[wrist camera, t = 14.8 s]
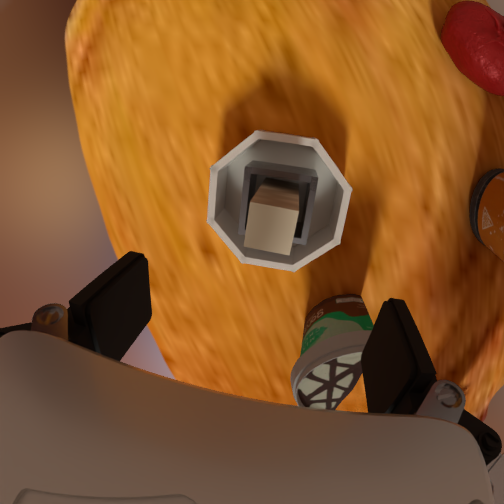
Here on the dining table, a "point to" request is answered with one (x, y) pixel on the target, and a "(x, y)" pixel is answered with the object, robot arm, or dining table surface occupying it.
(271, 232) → the grey rectangular block
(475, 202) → the canister
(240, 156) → the white octagonal tray
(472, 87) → the dining table surface
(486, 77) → the pomegranate
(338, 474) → the robot arm
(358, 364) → the food container
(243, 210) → the hollow square tube
